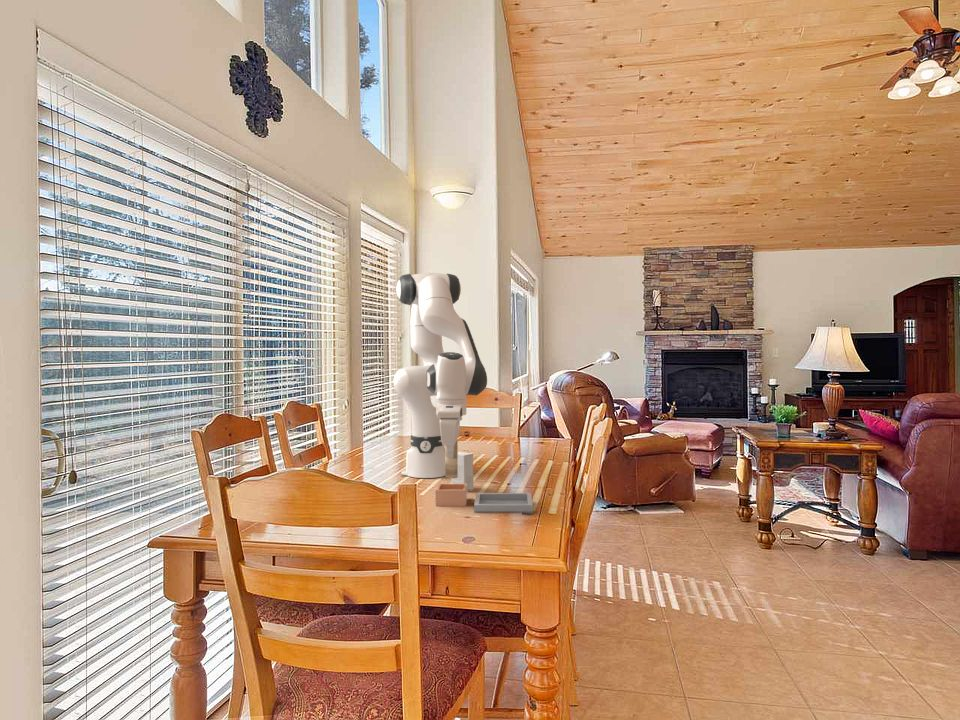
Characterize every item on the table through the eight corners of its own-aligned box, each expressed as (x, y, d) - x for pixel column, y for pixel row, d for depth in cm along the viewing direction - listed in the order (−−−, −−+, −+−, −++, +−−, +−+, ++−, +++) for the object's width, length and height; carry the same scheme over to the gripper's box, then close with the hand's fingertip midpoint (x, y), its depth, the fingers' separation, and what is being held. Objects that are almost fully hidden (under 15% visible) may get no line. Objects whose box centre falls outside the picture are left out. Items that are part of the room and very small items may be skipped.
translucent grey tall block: (445, 475, 186) (445, 435, 185) (457, 475, 185) (457, 435, 185) (444, 478, 182) (444, 437, 182) (457, 478, 182) (457, 437, 181)
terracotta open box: (438, 500, 188) (438, 483, 188) (467, 500, 188) (467, 483, 188) (435, 507, 179) (435, 490, 179) (465, 507, 179) (465, 490, 179)
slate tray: (476, 501, 186) (476, 492, 186) (530, 501, 186) (530, 493, 186) (474, 514, 172) (474, 505, 172) (532, 514, 172) (532, 505, 172)
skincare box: (473, 491, 199) (473, 453, 199) (464, 493, 196) (464, 455, 196) (460, 488, 203) (460, 451, 203) (450, 490, 200) (450, 453, 200)
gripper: (443, 404, 193) (443, 449, 194) (436, 412, 173) (436, 462, 174) (464, 404, 193) (464, 449, 194) (459, 412, 173) (459, 462, 173)
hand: (451, 455), depth 183 cm, fingers closed on translucent grey tall block, 4 cm apart
